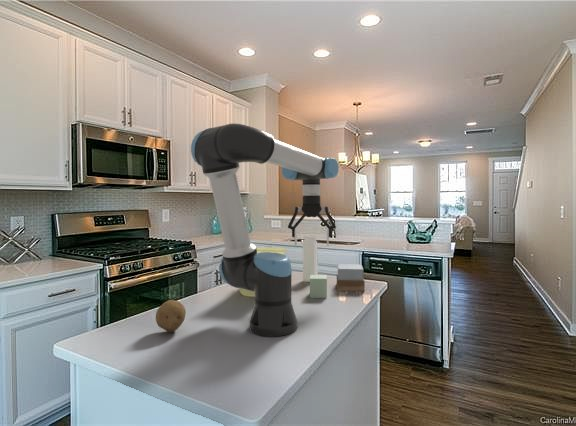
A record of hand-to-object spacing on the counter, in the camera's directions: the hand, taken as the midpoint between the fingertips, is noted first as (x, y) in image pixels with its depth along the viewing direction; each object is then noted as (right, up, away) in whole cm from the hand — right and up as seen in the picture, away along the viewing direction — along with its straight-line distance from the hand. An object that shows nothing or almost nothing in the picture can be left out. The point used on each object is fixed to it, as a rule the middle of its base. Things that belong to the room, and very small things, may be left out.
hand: (311, 245), depth 146 cm
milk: (+1, -20, +26) cm, 33 cm away
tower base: (+18, -21, +12) cm, 30 cm away
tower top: (+18, -16, +11) cm, 27 cm away
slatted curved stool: (-22, -22, +5) cm, 31 cm away
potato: (-46, -24, -40) cm, 65 cm away
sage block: (+3, -21, -1) cm, 22 cm away
